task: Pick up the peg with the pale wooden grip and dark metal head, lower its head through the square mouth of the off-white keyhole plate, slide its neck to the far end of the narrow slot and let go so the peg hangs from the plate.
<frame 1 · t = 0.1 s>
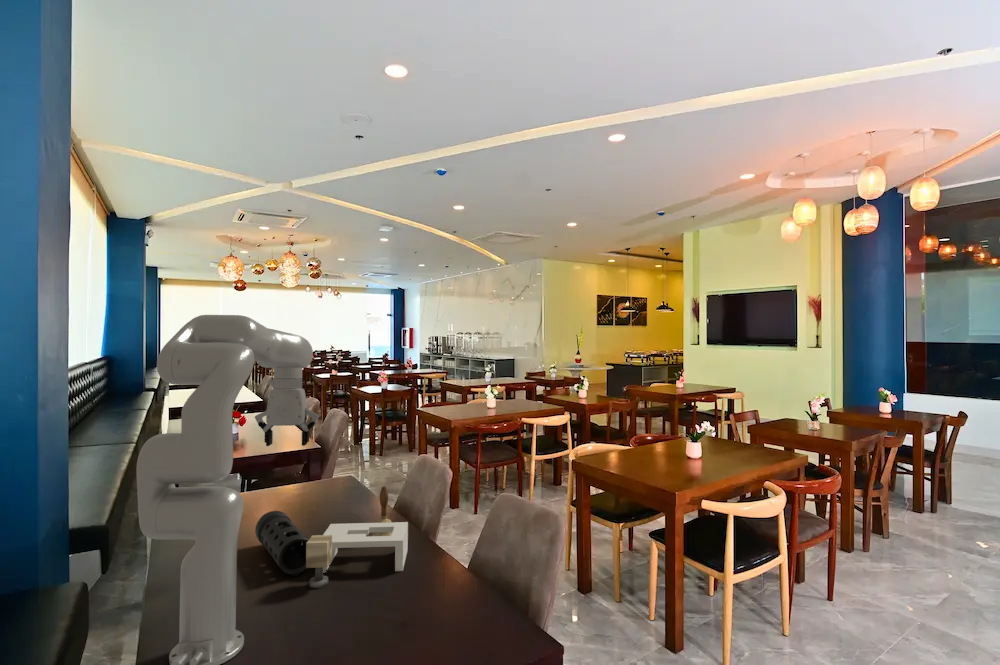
hand: (286, 445, 144), 31 cm above the table, tool pointing down, fingers open, 9 cm apart
keyhole stand: (364, 561, 141), on the table
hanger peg: (318, 584, 127), on the table
hand bell: (384, 539, 157), on the table
muzzle brake: (282, 560, 142), on the table
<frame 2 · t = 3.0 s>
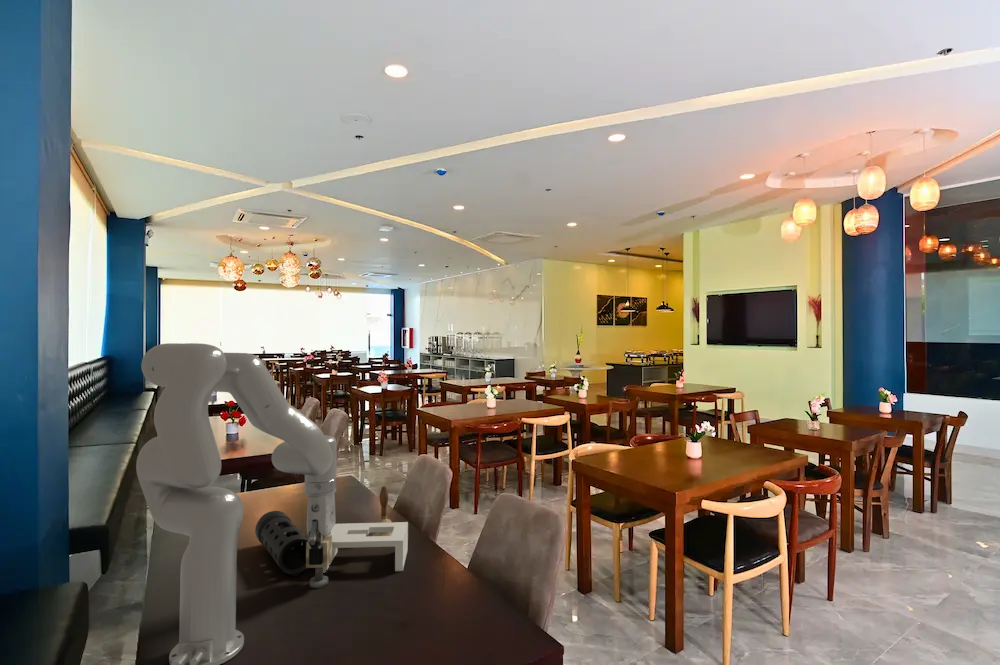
hand: (320, 556, 128), 7 cm above the table, tool pointing down, fingers open, 6 cm apart
nothing on the table moved.
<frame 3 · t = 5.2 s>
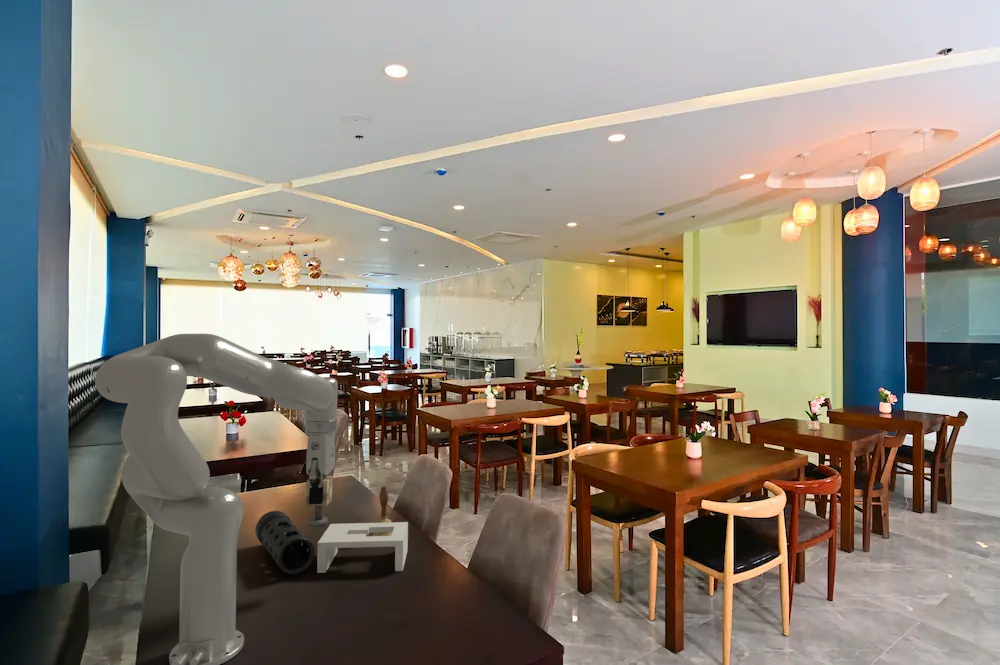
hand: (319, 499, 127), 21 cm above the table, tool pointing down, fingers closed on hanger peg, 5 cm apart
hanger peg: (318, 524, 127), point 15 cm above the table, touching gripper
everything else where it was.
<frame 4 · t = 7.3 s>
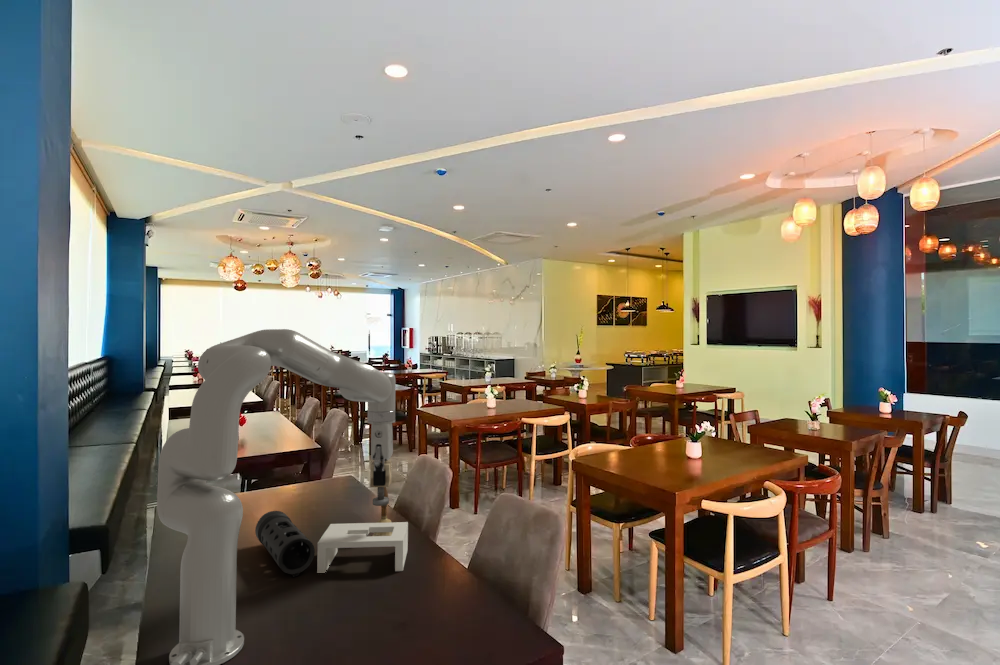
hand: (380, 481, 142), 22 cm above the table, tool pointing down, fingers closed on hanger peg, 5 cm apart
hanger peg: (380, 503, 142), point 16 cm above the table, touching gripper
everything else where it was.
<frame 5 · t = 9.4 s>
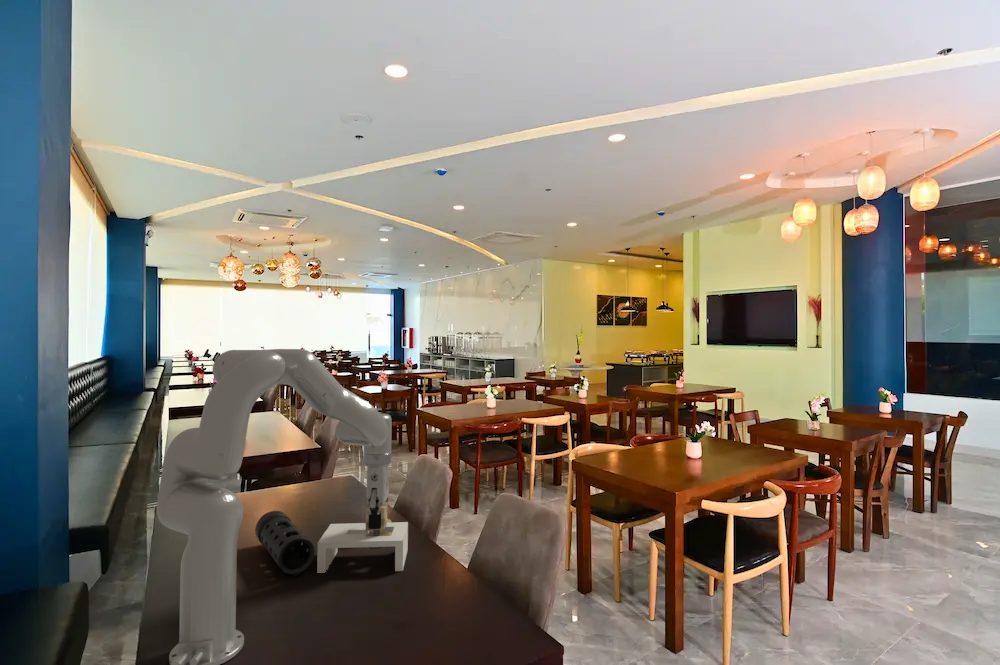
hand: (376, 524, 141), 10 cm above the table, tool pointing down, fingers closed on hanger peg, 5 cm apart
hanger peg: (376, 545, 141), point 4 cm above the table, touching gripper
everything else where it was.
when the fingers open (9 cm above the table, at t = 11.4 s): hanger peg stays where it is, resting on keyhole stand.
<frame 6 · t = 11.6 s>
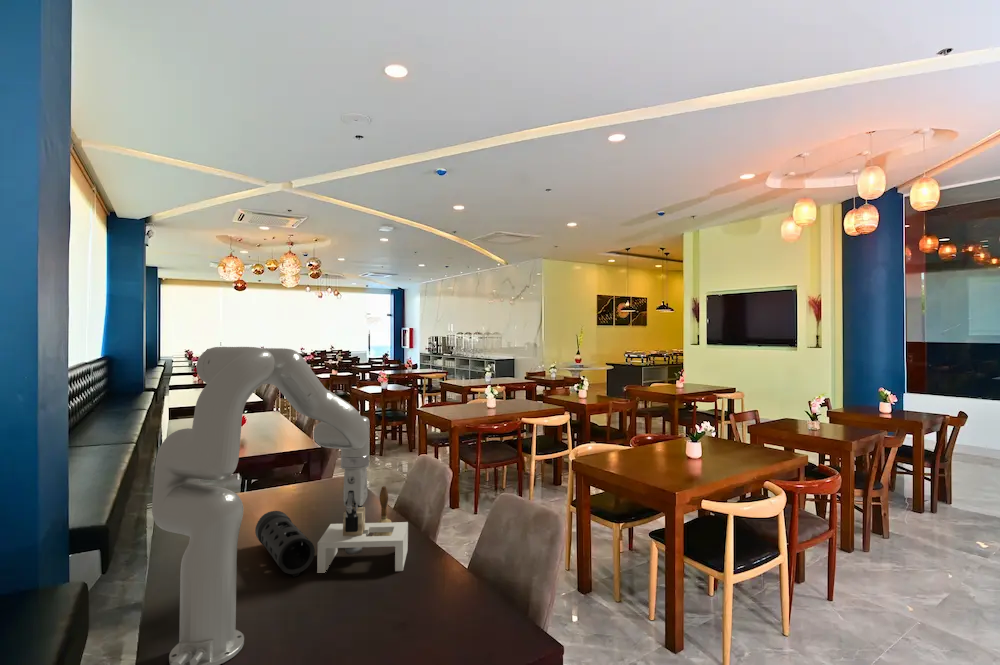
hand: (354, 526, 141), 10 cm above the table, tool pointing down, fingers open, 6 cm apart
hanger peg: (353, 551, 140), point 3 cm above the table, touching keyhole stand
everything else where it was.
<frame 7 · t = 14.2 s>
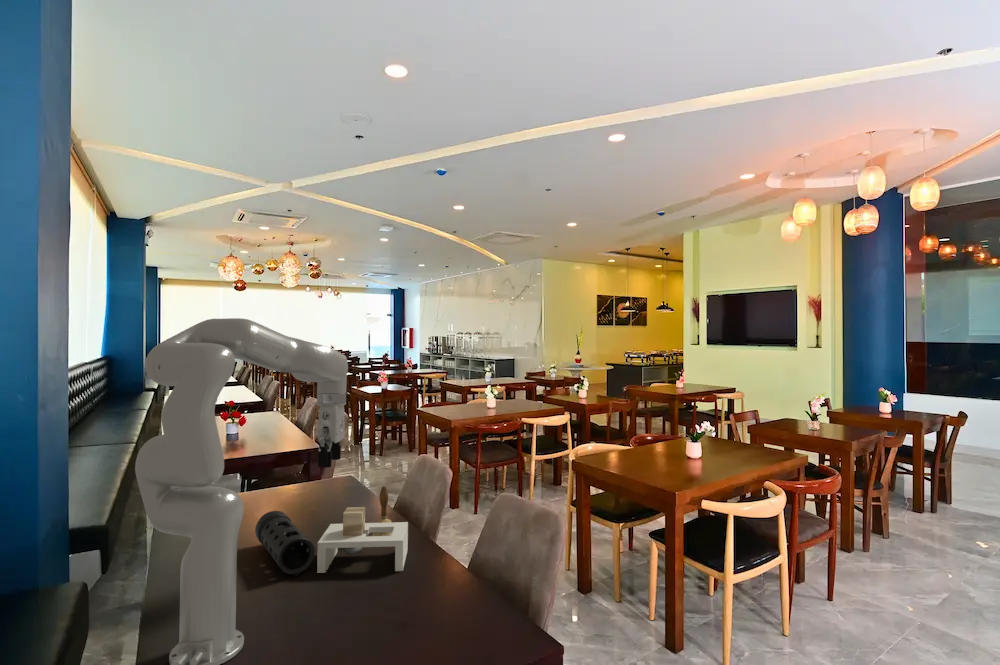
hand: (329, 463, 137), 28 cm above the table, tool pointing down, fingers open, 9 cm apart
nothing on the table moved.
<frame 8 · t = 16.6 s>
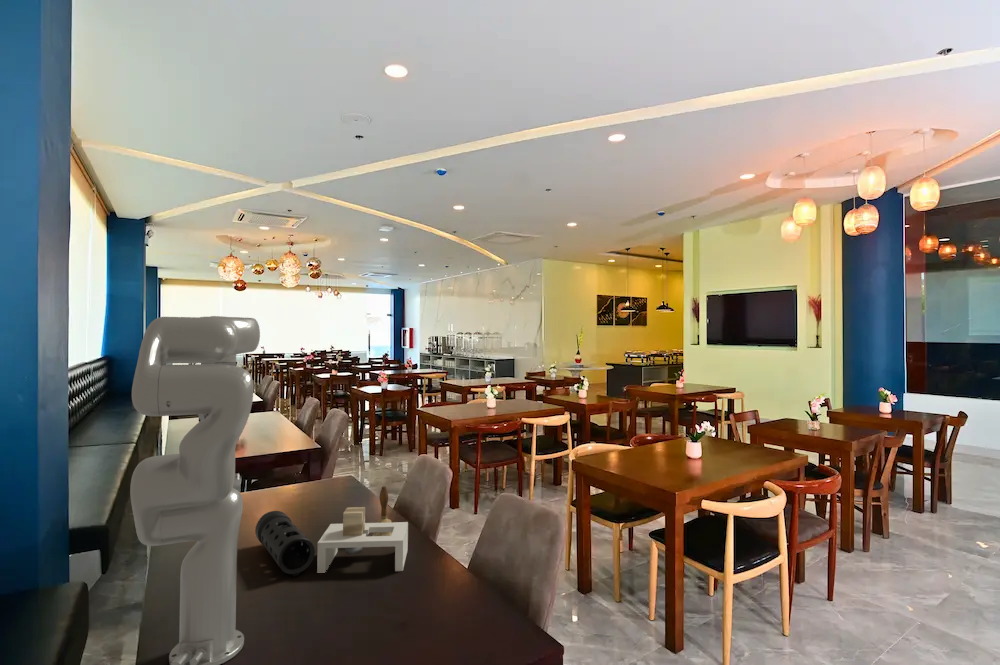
hand: (217, 440, 124), 36 cm above the table, tool pointing down, fingers open, 9 cm apart
nothing on the table moved.
at the end: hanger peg 0.1 cm from the target spot on the keyhole stand, point 2.8 cm above the keyhole stand's base; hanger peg tilted 0°; the gripper is holding nothing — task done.
